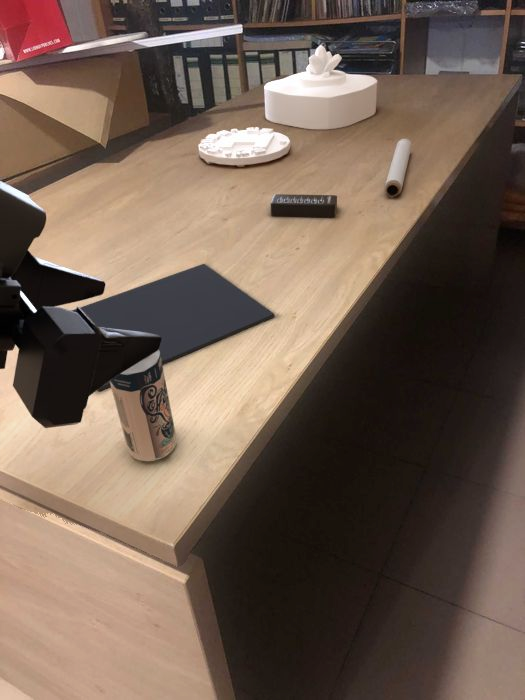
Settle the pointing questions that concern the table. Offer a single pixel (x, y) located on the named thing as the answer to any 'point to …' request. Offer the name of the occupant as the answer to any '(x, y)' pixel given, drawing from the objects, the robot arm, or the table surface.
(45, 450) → the table surface
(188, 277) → the desk mat
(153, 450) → the beer can
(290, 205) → the multiport hub
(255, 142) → the embossed medallion
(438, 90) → the table surface
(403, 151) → the tube
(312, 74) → the white crystal-topped box
